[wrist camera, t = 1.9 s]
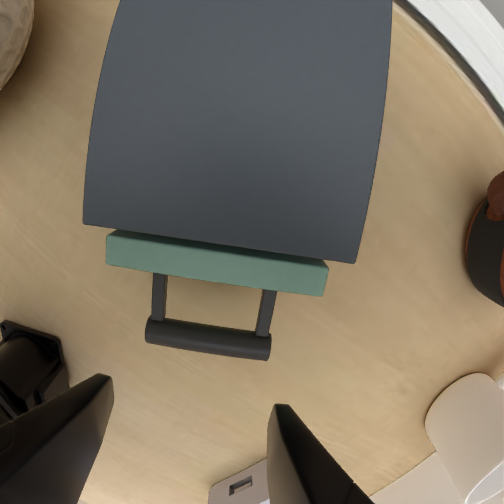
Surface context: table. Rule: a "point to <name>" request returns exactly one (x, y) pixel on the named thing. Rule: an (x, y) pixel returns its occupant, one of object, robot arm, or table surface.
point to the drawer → (214, 270)
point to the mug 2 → (488, 243)
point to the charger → (243, 487)
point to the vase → (14, 34)
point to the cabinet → (241, 122)
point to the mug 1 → (471, 435)
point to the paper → (426, 487)
